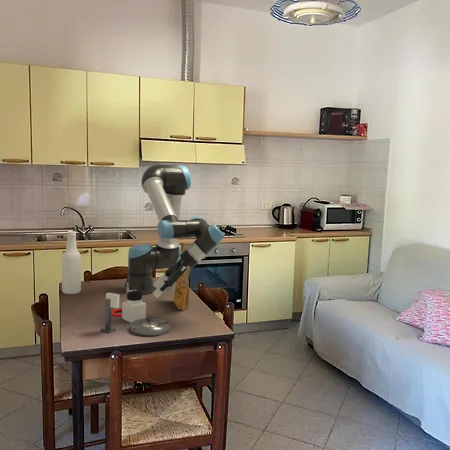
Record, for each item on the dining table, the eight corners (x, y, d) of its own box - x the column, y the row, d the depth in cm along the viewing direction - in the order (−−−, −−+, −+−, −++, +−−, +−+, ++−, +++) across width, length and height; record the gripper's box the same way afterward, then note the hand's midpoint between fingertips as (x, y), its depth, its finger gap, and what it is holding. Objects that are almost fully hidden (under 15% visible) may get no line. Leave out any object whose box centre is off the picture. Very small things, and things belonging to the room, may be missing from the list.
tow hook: (119, 319, 194) (136, 313, 201) (118, 289, 192) (135, 284, 199) (106, 314, 199) (123, 309, 206) (105, 285, 197) (122, 280, 204)
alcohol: (79, 294, 225) (79, 232, 221) (60, 294, 224) (60, 232, 220) (82, 289, 233) (82, 230, 230) (63, 289, 232) (63, 229, 228)
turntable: (144, 320, 192) (144, 316, 191) (176, 326, 186) (176, 322, 186) (122, 332, 178) (122, 326, 178) (156, 339, 172) (156, 333, 172)
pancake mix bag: (185, 299, 224) (187, 241, 221) (194, 311, 206) (196, 249, 203) (171, 300, 223) (173, 242, 219) (179, 312, 204) (181, 249, 201)
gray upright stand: (107, 328, 181) (107, 291, 179) (120, 330, 179) (120, 294, 177) (100, 331, 177) (100, 294, 176) (113, 334, 175) (114, 296, 173)
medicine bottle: (146, 319, 193) (146, 291, 191) (131, 323, 188) (132, 294, 186) (136, 315, 198) (136, 287, 196) (121, 318, 193) (122, 290, 191)
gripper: (201, 268, 180) (161, 306, 180) (196, 256, 205) (161, 289, 204) (188, 254, 179) (147, 293, 179) (184, 244, 203) (149, 277, 203)
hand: (154, 291), depth 191 cm, fingers open, 13 cm apart
